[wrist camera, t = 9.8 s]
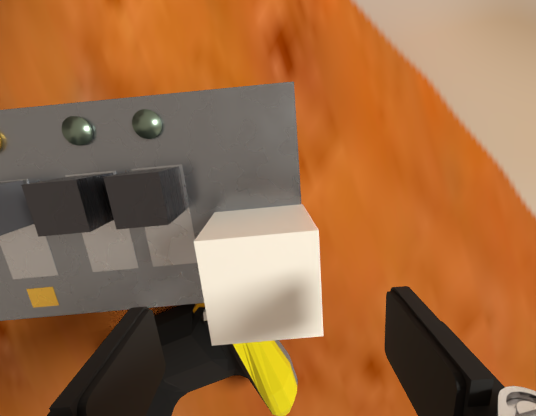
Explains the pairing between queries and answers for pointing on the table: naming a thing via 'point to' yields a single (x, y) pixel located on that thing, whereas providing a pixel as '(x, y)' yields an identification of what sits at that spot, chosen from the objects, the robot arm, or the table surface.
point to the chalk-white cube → (260, 275)
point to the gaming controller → (217, 362)
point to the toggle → (13, 207)
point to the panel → (195, 136)
